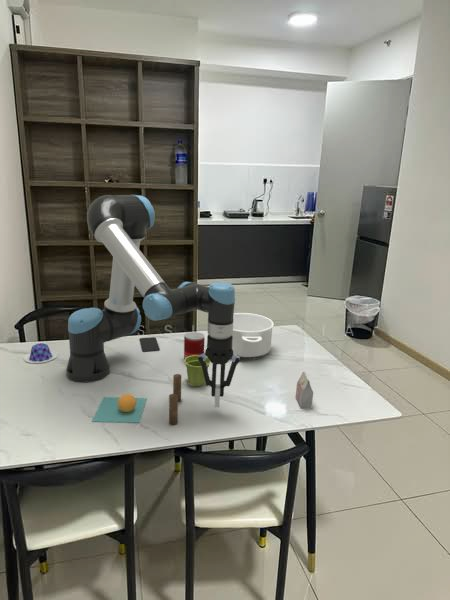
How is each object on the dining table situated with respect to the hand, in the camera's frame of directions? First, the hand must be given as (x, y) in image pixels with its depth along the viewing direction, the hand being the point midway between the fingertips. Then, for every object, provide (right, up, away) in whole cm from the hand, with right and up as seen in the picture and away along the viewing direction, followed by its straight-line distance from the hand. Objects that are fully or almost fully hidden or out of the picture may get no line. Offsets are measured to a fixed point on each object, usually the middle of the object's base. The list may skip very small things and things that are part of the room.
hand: (216, 404), depth 130 cm
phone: (-30, +13, +50) cm, 60 cm away
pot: (+11, +11, +47) cm, 50 cm away
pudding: (-70, +10, +33) cm, 78 cm away
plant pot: (-8, +3, +19) cm, 20 cm away
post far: (-13, 0, +6) cm, 15 cm away
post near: (-13, -4, -6) cm, 15 cm away
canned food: (-10, +8, +36) cm, 38 cm away
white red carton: (+29, -2, +9) cm, 30 cm away
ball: (-28, +1, -2) cm, 28 cm away
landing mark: (-30, -1, 0) cm, 30 cm away
